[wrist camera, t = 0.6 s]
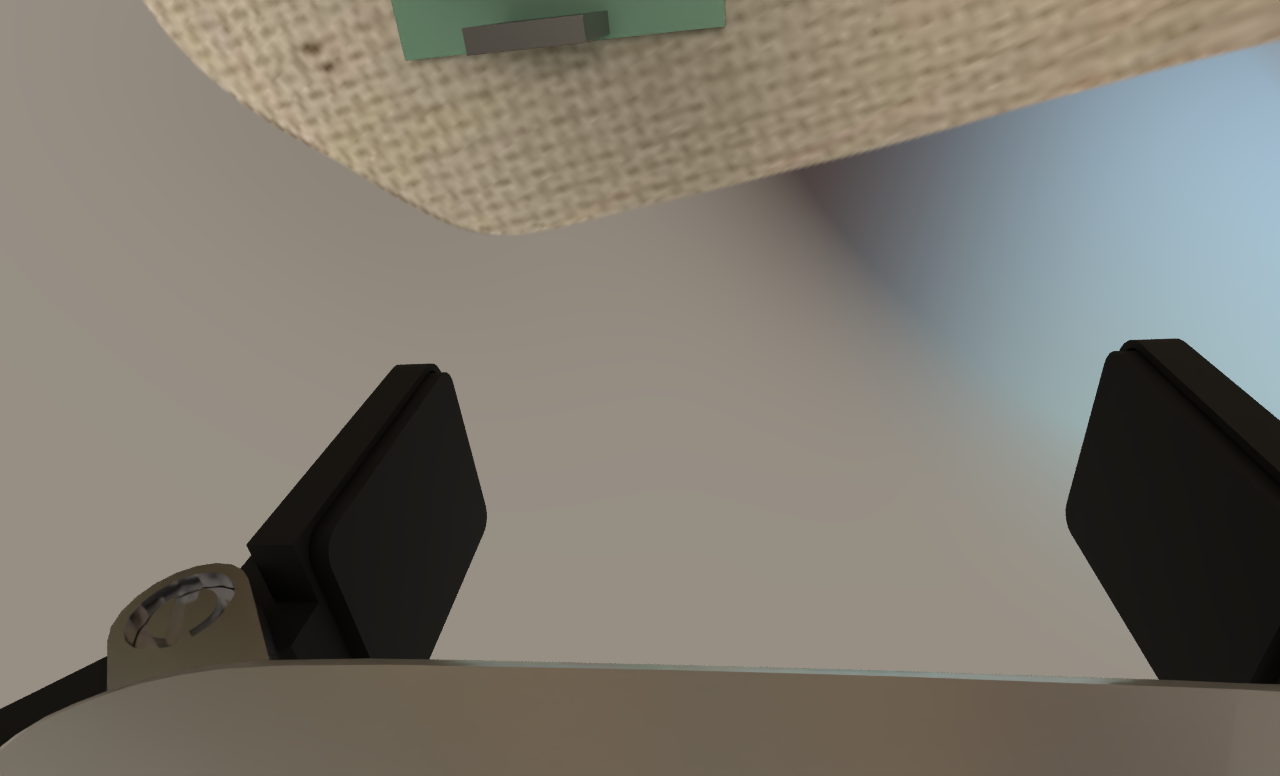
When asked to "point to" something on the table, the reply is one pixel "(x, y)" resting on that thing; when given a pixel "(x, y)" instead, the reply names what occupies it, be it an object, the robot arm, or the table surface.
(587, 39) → the heat sink board
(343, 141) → the table surface
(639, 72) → the table surface
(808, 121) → the table surface
